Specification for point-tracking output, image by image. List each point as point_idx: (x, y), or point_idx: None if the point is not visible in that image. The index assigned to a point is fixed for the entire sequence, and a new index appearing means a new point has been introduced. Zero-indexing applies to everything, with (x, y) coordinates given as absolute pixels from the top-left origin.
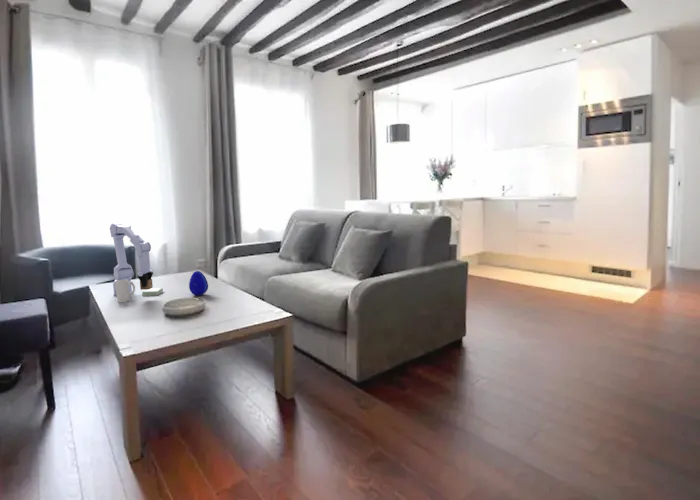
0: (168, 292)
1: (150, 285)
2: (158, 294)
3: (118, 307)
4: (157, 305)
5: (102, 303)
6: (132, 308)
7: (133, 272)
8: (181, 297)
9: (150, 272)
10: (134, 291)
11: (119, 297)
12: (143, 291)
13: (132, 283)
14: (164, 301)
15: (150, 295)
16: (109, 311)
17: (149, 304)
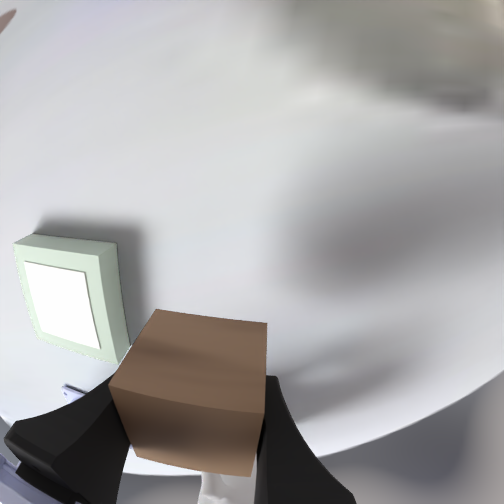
0: (43, 185)
1: (214, 343)
2: (99, 242)
3: (401, 392)
4: (457, 164)
5: None
6: (461, 316)
7: (18, 465)
8: (225, 6)
9: (41, 471)
10: (63, 386)
11: None
12: (107, 358)
13: (215, 481)
14: (352, 121)
15: (121, 297)
16: (450, 393)
17: (415, 234)
